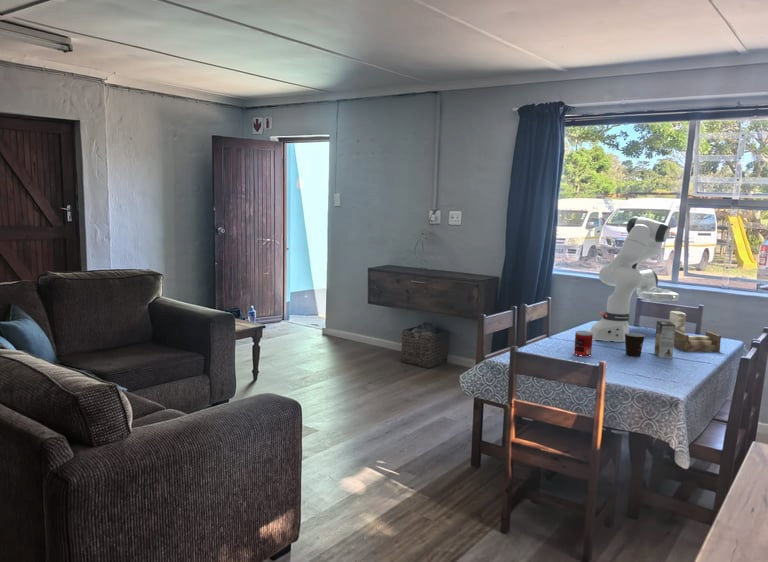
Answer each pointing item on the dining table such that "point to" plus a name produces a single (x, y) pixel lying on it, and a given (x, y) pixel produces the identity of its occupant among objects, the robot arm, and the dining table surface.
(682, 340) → the walnut rack
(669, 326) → the coffee box
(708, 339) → the back plywood offcut
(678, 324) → the pale wood block
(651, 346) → the dining table surface
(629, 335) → the brown paper cup
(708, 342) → the front plywood offcut
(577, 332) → the canned food
